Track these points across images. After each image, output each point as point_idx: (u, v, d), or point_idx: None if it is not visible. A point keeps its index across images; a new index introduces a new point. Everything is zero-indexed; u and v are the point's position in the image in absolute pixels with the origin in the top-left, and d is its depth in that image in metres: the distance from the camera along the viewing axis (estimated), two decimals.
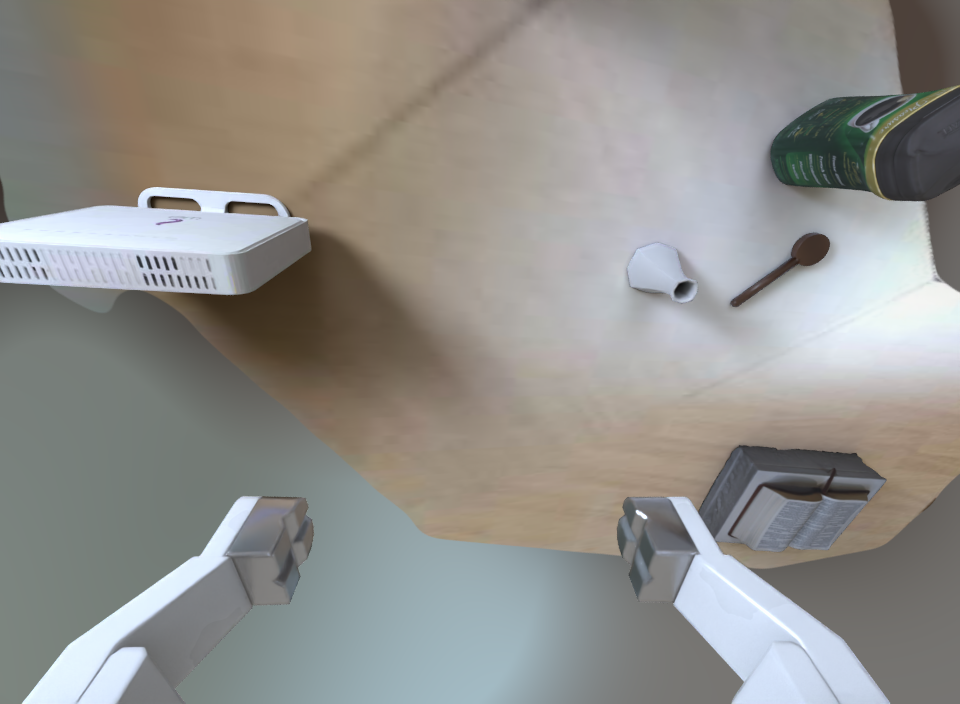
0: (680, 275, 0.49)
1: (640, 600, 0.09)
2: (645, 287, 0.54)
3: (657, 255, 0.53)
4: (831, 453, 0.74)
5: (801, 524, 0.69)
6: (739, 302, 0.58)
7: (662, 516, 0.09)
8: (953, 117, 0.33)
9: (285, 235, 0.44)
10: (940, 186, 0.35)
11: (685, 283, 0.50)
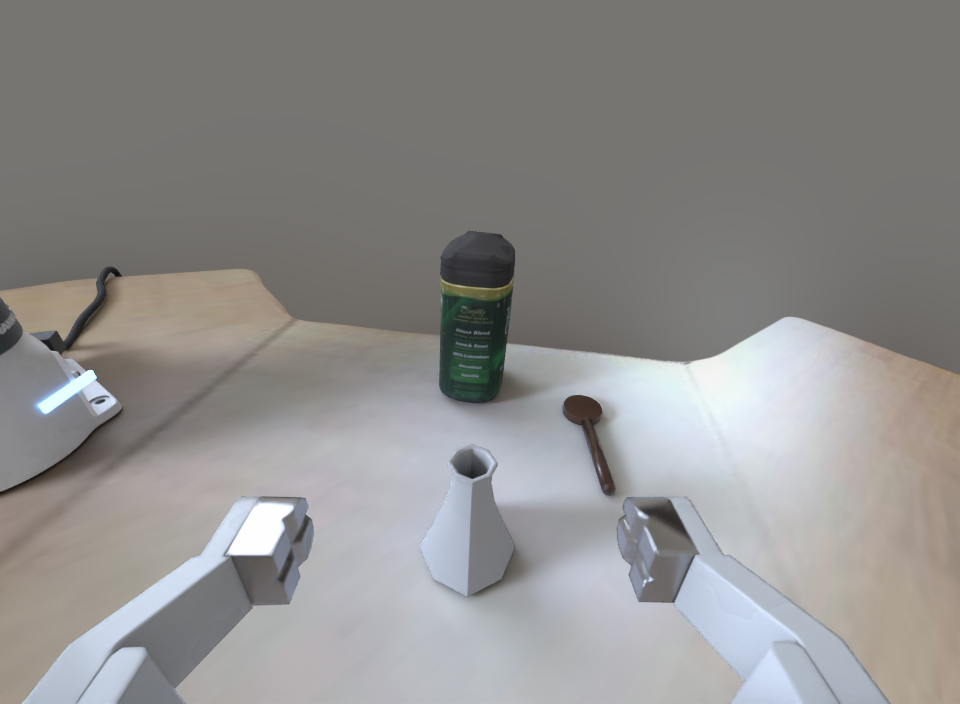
0: (460, 472, 0.29)
1: (639, 600, 0.09)
2: (467, 554, 0.28)
3: None
4: None
5: None
6: (607, 481, 0.37)
7: (662, 516, 0.09)
8: (452, 245, 0.42)
9: None
10: (500, 253, 0.40)
11: None
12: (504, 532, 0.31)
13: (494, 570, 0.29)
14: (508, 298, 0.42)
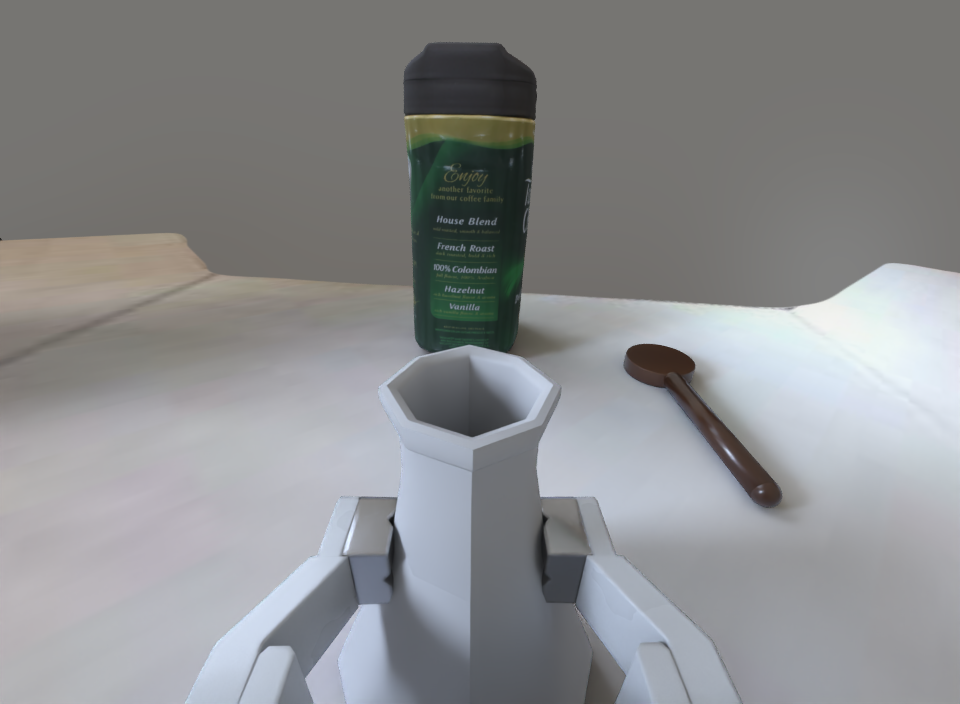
0: None
1: None
2: None
3: None
4: None
5: None
6: (762, 477, 0.17)
7: (564, 516, 0.09)
8: None
9: None
10: None
11: None
12: (569, 620, 0.11)
13: None
14: (528, 155, 0.23)
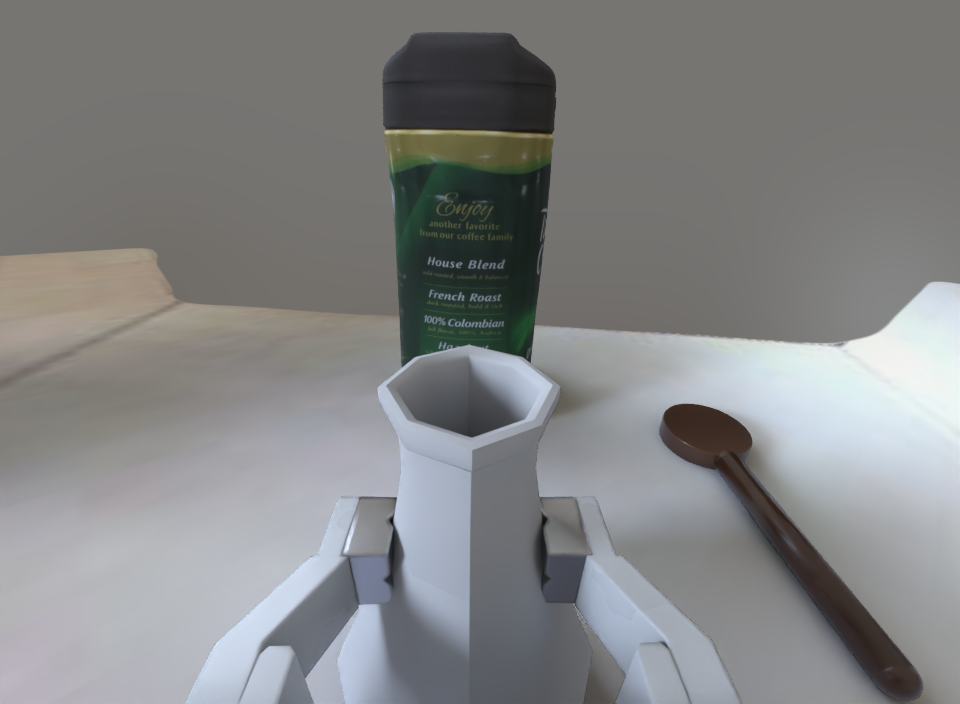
0: None
1: None
2: None
3: None
4: None
5: None
6: (890, 653, 0.12)
7: (564, 516, 0.09)
8: None
9: None
10: None
11: None
12: (569, 620, 0.11)
13: None
14: (545, 179, 0.18)
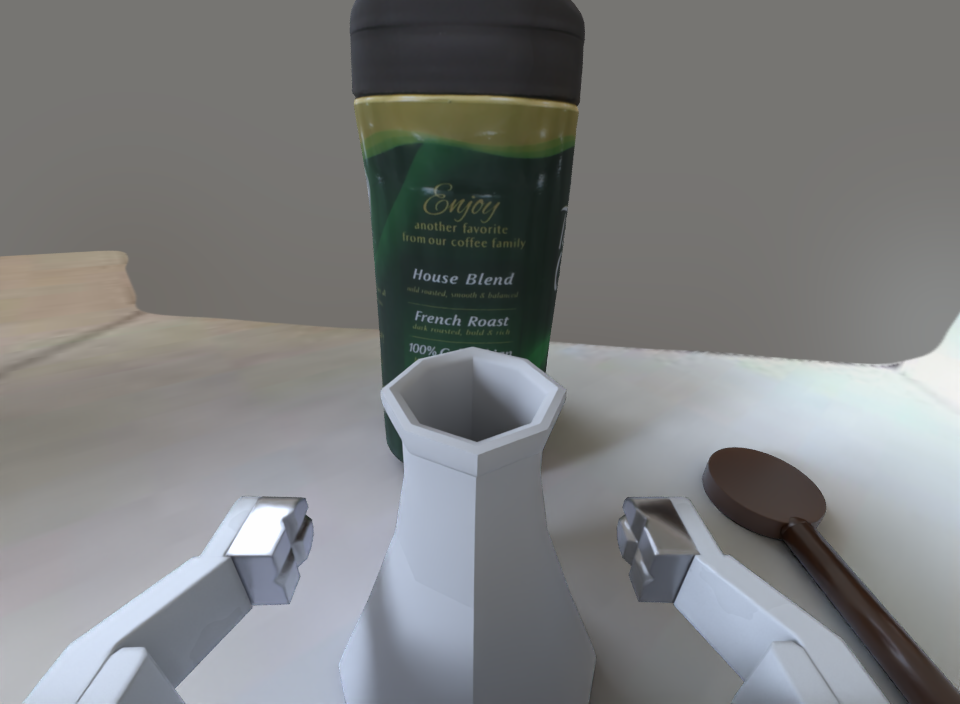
0: None
1: (639, 600, 0.09)
2: None
3: None
4: None
5: None
6: None
7: (662, 516, 0.09)
8: None
9: None
10: None
11: None
12: (573, 624, 0.11)
13: None
14: (568, 167, 0.14)
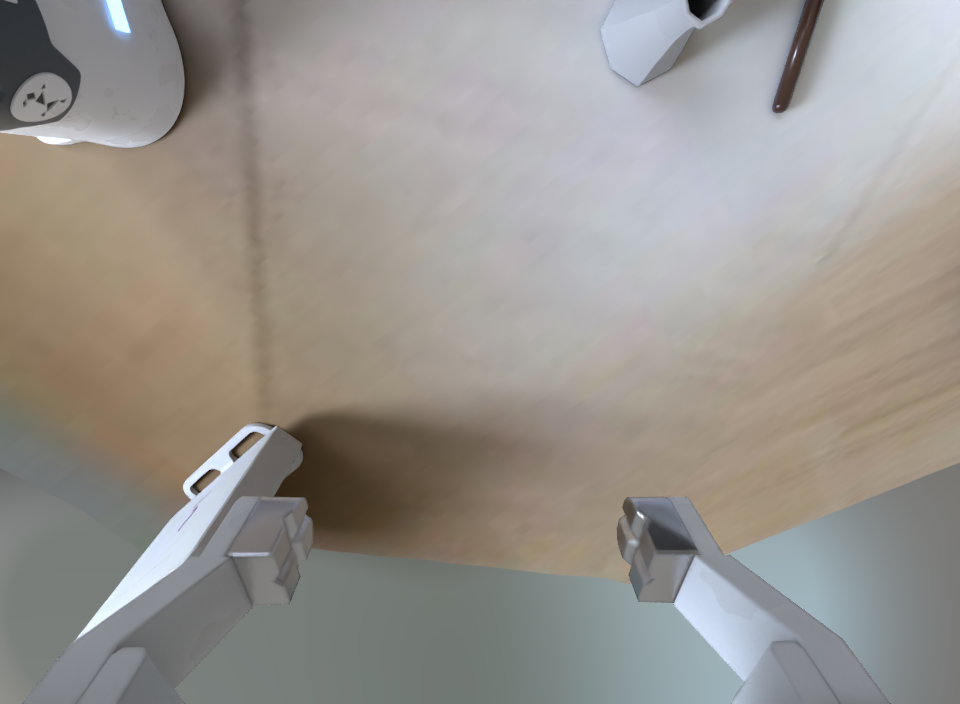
0: None
1: (639, 599, 0.09)
2: (654, 62, 0.31)
3: (631, 3, 0.30)
4: None
5: None
6: (785, 100, 0.34)
7: (662, 516, 0.09)
8: None
9: (251, 473, 0.42)
10: None
11: None
12: None
13: (669, 65, 0.33)
14: None
